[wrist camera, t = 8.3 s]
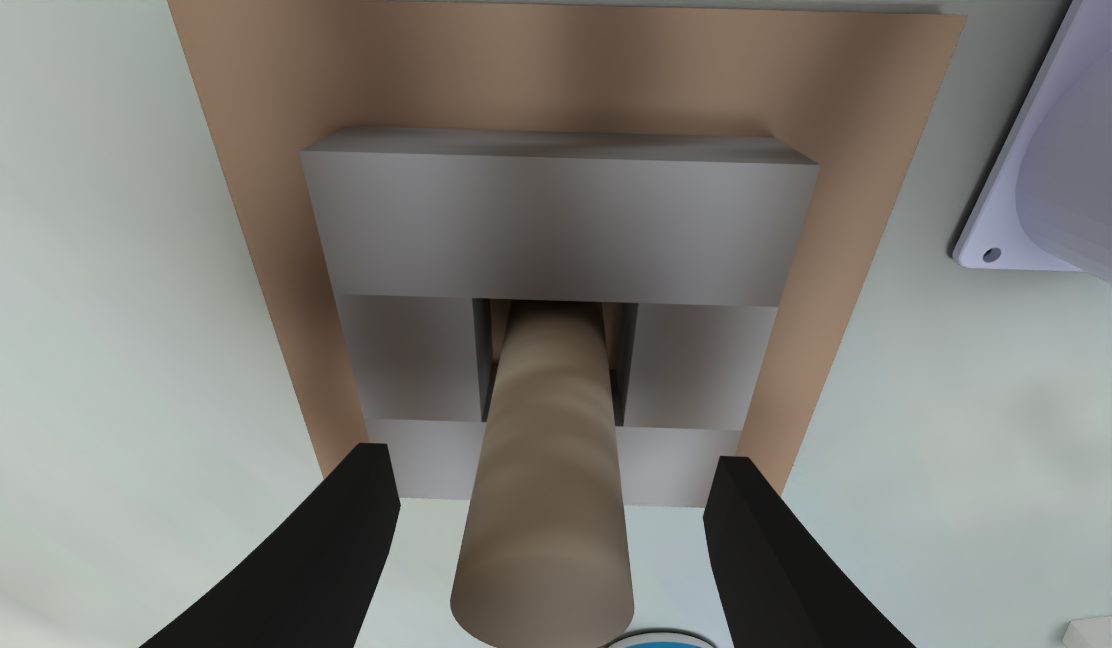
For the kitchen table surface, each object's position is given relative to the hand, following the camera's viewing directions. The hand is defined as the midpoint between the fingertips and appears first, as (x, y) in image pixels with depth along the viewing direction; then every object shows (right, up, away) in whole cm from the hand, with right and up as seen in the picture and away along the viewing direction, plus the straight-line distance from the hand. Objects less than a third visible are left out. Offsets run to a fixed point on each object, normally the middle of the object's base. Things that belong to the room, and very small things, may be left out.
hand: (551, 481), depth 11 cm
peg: (0, +4, +6) cm, 7 cm away
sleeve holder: (0, +4, +7) cm, 8 cm away
